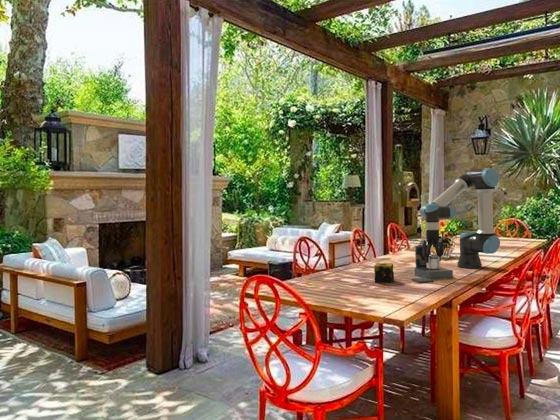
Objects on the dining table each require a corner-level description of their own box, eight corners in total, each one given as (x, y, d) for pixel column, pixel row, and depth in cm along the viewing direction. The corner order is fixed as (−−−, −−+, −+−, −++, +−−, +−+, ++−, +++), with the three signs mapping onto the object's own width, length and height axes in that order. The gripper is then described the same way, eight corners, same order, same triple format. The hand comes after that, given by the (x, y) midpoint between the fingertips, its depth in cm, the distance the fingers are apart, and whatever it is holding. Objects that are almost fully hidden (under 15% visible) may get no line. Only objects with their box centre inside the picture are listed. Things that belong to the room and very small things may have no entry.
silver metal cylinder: (435, 275, 292) (434, 254, 292) (440, 276, 287) (439, 255, 286) (426, 275, 291) (426, 254, 291) (431, 277, 286) (431, 255, 285)
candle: (394, 280, 283) (393, 263, 282) (392, 283, 273) (392, 265, 273) (376, 279, 286) (376, 262, 286) (374, 282, 276) (373, 265, 276)
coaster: (425, 279, 282) (425, 277, 282) (433, 281, 273) (433, 280, 273) (411, 280, 280) (411, 278, 280) (419, 283, 271) (419, 281, 271)
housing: (437, 273, 299) (437, 266, 298) (452, 277, 283) (452, 270, 283) (414, 275, 295) (414, 268, 295) (428, 279, 279) (428, 272, 279)
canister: (432, 273, 298) (431, 245, 298) (416, 273, 300) (415, 245, 300) (430, 271, 308) (429, 243, 307) (415, 271, 310) (414, 243, 309)
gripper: (442, 228, 294) (443, 265, 295) (415, 229, 289) (416, 267, 290) (449, 228, 286) (450, 267, 287) (421, 230, 282) (422, 269, 283)
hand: (433, 267), depth 289 cm, fingers closed on silver metal cylinder, 6 cm apart
